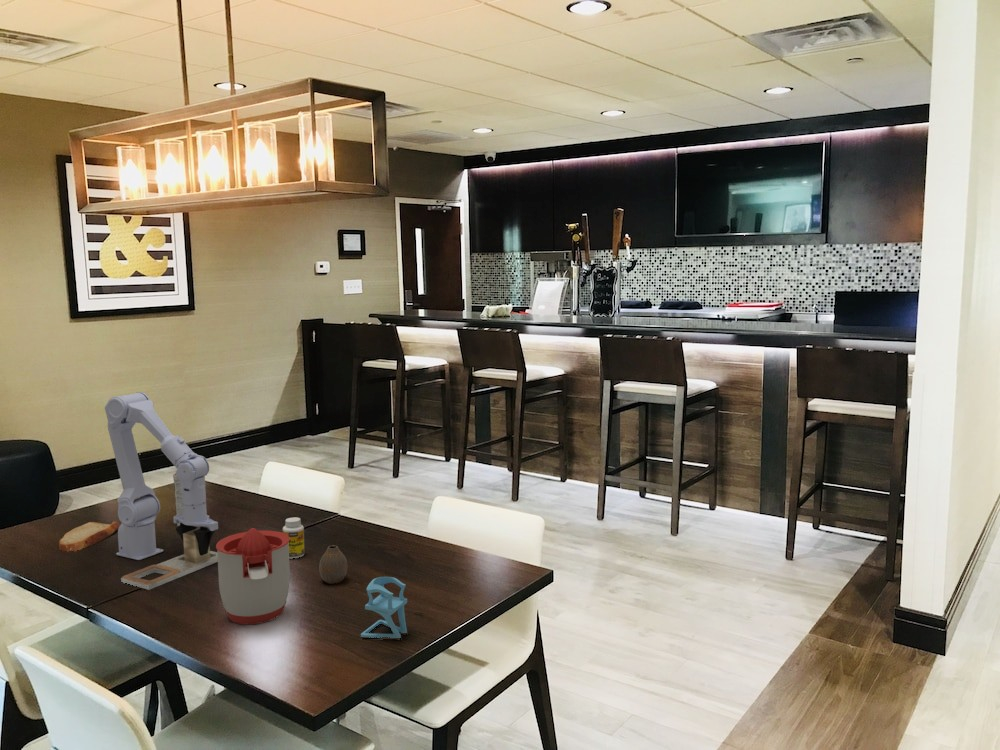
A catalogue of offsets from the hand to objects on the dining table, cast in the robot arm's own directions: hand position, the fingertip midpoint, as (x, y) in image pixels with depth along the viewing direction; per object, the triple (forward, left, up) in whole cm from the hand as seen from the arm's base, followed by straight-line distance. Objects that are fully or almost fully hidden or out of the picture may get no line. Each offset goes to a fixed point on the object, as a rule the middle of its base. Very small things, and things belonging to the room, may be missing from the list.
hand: (197, 552), depth 206 cm
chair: (+70, -12, -3) cm, 71 cm away
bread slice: (-43, -1, -3) cm, 43 cm away
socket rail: (0, -7, -2) cm, 7 cm away
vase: (+41, +6, -3) cm, 42 cm away
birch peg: (0, 0, -2) cm, 2 cm away
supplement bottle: (+20, +15, -3) cm, 25 cm away
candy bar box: (-30, +24, -3) cm, 39 cm away
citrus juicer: (+39, -18, -3) cm, 43 cm away
